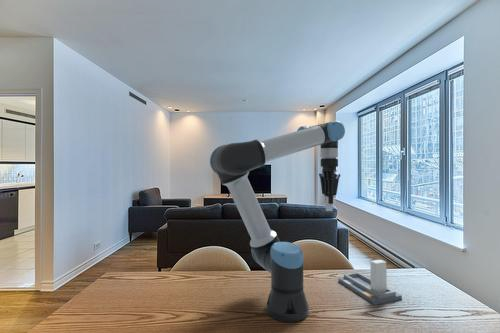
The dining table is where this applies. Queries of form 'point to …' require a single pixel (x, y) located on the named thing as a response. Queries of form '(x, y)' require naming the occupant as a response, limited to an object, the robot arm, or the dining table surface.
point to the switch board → (367, 288)
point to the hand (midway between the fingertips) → (329, 210)
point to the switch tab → (378, 276)
